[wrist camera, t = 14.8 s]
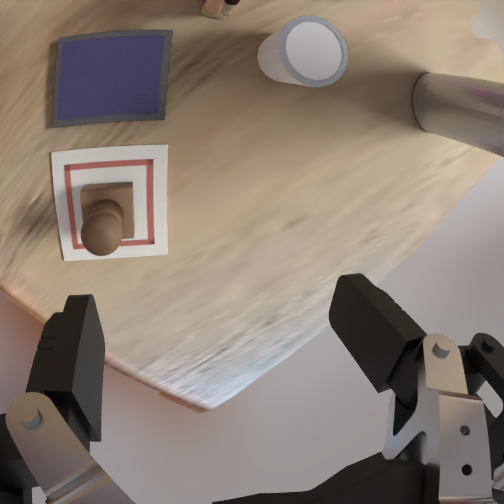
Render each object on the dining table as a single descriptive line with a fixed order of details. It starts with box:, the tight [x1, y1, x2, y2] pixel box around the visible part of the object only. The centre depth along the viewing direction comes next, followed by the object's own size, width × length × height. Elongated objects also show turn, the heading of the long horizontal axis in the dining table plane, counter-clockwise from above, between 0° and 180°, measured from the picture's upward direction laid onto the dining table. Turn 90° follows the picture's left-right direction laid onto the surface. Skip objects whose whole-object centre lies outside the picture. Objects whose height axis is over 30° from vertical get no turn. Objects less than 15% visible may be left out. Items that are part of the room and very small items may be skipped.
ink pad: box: [53, 30, 173, 128], centre depth 22 cm, size 11×9×2 cm
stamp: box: [80, 182, 135, 256], centre depth 25 cm, size 5×5×9 cm
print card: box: [51, 144, 168, 261], centre depth 29 cm, size 12×12×1 cm
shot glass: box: [257, 15, 348, 88], centre depth 24 cm, size 7×7×7 cm
